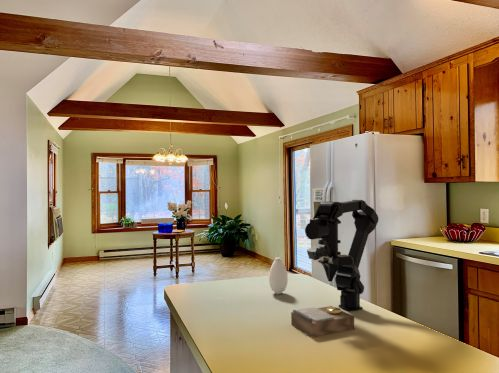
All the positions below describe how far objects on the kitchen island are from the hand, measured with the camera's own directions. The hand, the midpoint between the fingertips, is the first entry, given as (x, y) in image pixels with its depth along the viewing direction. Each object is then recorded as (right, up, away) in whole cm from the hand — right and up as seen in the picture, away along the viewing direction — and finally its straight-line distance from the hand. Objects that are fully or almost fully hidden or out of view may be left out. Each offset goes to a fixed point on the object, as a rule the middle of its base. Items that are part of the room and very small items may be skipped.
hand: (330, 281), depth 133 cm
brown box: (-5, -12, -11) cm, 17 cm away
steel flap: (-8, -8, -12) cm, 16 cm away
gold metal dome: (-1, -12, -9) cm, 15 cm away
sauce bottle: (-16, -13, +29) cm, 35 cm away
